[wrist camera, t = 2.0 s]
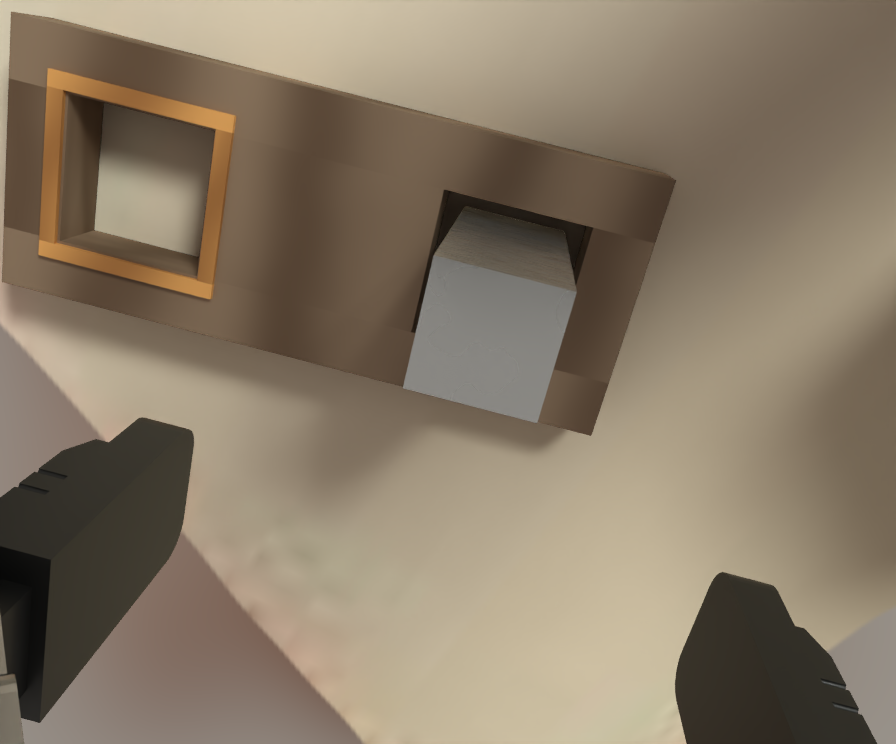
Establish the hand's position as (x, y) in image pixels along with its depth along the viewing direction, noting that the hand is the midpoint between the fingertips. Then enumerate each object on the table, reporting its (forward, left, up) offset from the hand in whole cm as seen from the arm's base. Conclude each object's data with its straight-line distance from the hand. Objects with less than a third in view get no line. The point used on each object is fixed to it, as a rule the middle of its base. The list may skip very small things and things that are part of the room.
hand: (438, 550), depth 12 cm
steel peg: (0, 0, -21) cm, 21 cm away
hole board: (+7, 0, -21) cm, 22 cm away
